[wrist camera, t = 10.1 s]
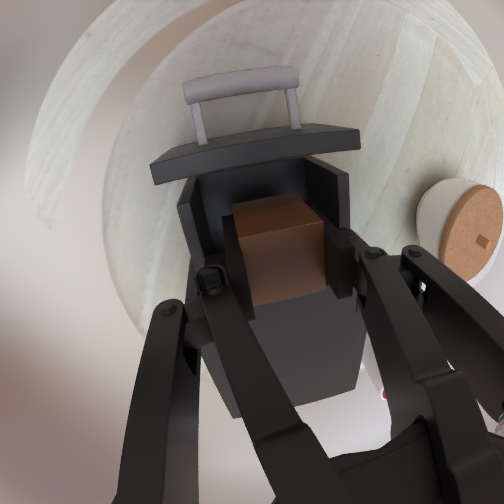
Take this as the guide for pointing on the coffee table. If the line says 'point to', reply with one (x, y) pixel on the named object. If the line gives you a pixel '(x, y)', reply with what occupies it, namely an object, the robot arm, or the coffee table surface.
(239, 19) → the coffee table surface
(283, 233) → the block
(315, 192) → the pull-out drawer
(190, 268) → the dark drawer box
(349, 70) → the coffee table surface
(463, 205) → the trinket box
